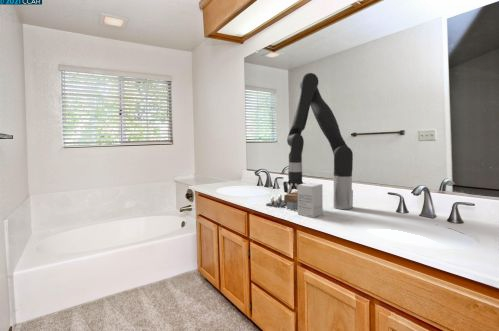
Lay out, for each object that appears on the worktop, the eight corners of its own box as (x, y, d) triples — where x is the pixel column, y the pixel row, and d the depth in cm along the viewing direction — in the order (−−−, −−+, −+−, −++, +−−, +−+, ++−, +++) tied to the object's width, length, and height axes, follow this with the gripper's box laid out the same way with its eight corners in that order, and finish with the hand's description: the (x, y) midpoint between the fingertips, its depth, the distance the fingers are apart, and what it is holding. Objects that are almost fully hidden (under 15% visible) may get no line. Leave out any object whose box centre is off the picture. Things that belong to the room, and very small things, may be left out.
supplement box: (307, 211, 141) (307, 182, 140) (323, 214, 135) (323, 184, 134) (297, 214, 135) (297, 184, 134) (312, 217, 129) (312, 186, 128)
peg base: (291, 203, 162) (291, 195, 161) (280, 207, 150) (280, 199, 150) (278, 201, 167) (278, 194, 167) (266, 205, 156) (266, 197, 155)
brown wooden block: (295, 197, 158) (295, 191, 158) (305, 198, 155) (305, 192, 154) (284, 201, 147) (284, 195, 147) (294, 202, 143) (294, 196, 143)
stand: (298, 204, 158) (298, 197, 157) (303, 205, 156) (303, 198, 156) (286, 209, 146) (286, 201, 146) (292, 210, 144) (292, 202, 144)
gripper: (310, 170, 148) (310, 201, 150) (286, 169, 157) (286, 198, 158) (304, 171, 142) (304, 203, 144) (280, 170, 151) (280, 200, 152)
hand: (295, 200), depth 151 cm, fingers closed on brown wooden block, 6 cm apart
